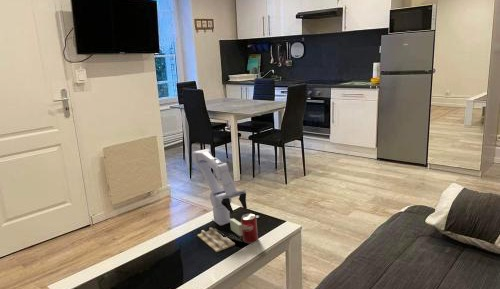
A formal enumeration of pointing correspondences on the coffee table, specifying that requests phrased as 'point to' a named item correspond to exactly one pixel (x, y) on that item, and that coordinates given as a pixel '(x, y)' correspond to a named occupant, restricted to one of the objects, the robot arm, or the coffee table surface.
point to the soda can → (249, 228)
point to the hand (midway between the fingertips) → (238, 211)
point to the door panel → (236, 226)
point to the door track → (215, 240)
